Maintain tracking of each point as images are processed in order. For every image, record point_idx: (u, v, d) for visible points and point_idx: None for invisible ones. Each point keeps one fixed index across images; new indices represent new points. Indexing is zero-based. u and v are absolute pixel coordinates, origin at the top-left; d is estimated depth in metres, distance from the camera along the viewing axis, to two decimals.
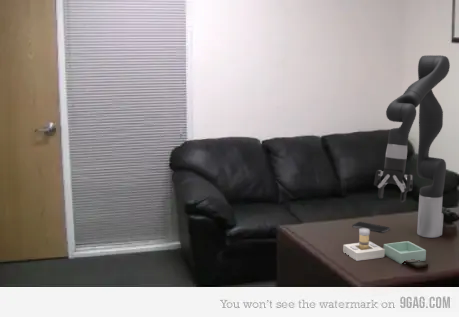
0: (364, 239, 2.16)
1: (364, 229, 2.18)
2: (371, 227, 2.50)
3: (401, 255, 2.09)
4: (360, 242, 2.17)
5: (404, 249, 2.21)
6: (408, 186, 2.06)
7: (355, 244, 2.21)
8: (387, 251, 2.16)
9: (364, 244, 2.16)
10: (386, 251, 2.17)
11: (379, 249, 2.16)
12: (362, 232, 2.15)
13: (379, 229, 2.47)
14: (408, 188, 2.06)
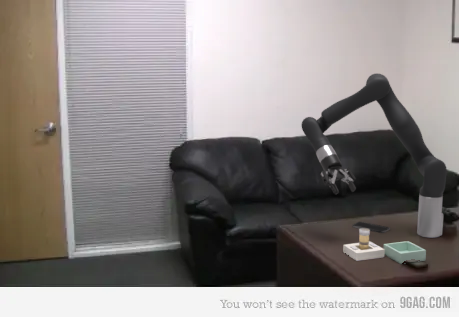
0: (364, 239, 2.16)
1: (364, 229, 2.18)
2: (371, 227, 2.50)
3: (401, 255, 2.09)
4: (360, 242, 2.17)
5: (404, 249, 2.21)
6: None
7: (355, 244, 2.21)
8: (387, 251, 2.16)
9: (364, 244, 2.16)
10: (386, 251, 2.17)
11: (379, 249, 2.16)
12: (362, 232, 2.15)
13: (379, 229, 2.47)
14: None
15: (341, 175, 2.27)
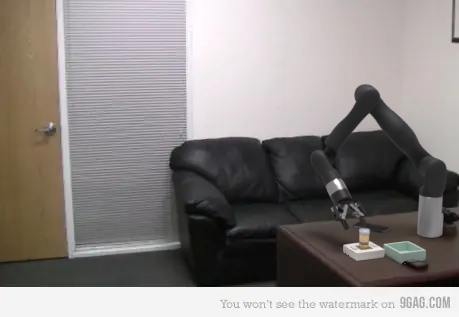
0: (364, 239, 2.16)
1: (364, 229, 2.18)
2: (371, 227, 2.50)
3: (401, 255, 2.09)
4: (360, 242, 2.17)
5: (404, 249, 2.21)
6: None
7: (355, 244, 2.21)
8: (387, 251, 2.16)
9: (364, 244, 2.16)
10: (386, 251, 2.17)
11: (379, 249, 2.16)
12: (362, 232, 2.15)
13: (379, 229, 2.47)
14: None
15: (352, 210, 2.24)
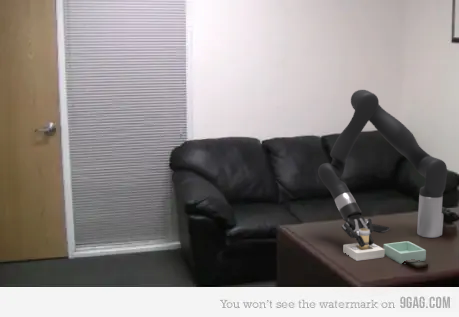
0: (364, 239, 2.16)
1: (363, 229, 2.18)
2: None
3: (401, 255, 2.09)
4: None
5: (404, 249, 2.21)
6: None
7: (355, 244, 2.21)
8: (387, 251, 2.16)
9: None
10: (386, 251, 2.17)
11: (379, 249, 2.16)
12: (362, 232, 2.15)
13: (379, 229, 2.47)
14: None
15: (359, 224, 2.19)
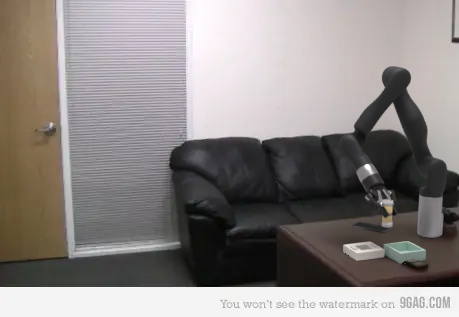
0: (388, 210, 2.12)
1: (387, 199, 2.14)
2: (371, 227, 2.50)
3: (401, 255, 2.09)
4: None
5: (404, 249, 2.21)
6: None
7: (355, 244, 2.21)
8: (387, 251, 2.16)
9: None
10: (386, 251, 2.17)
11: (379, 249, 2.16)
12: (385, 203, 2.12)
13: (379, 229, 2.47)
14: None
15: (382, 195, 2.16)
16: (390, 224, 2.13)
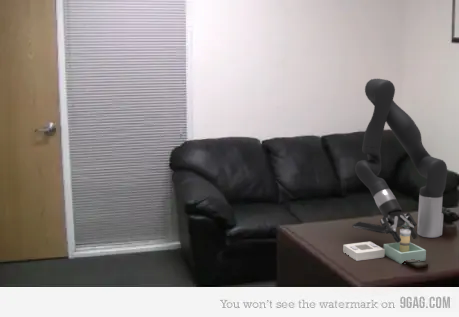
0: (405, 240, 2.13)
1: (404, 229, 2.15)
2: (371, 227, 2.50)
3: (401, 255, 2.09)
4: (401, 243, 2.14)
5: None
6: None
7: (355, 244, 2.21)
8: (387, 251, 2.16)
9: (405, 245, 2.13)
10: (386, 251, 2.17)
11: (379, 249, 2.16)
12: (403, 233, 2.12)
13: (379, 229, 2.47)
14: None
15: (402, 221, 2.16)
16: None
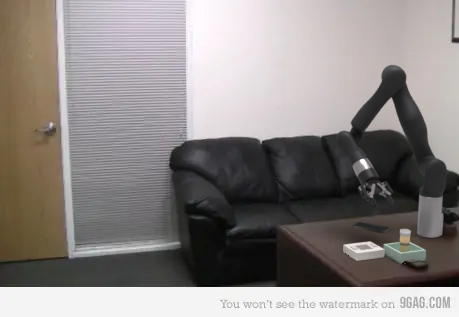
0: (405, 240, 2.13)
1: (404, 229, 2.15)
2: (371, 227, 2.50)
3: (401, 255, 2.09)
4: (401, 243, 2.14)
5: None
6: None
7: (355, 244, 2.21)
8: (387, 251, 2.16)
9: (405, 245, 2.13)
10: (386, 251, 2.17)
11: (379, 249, 2.16)
12: (403, 233, 2.12)
13: (379, 229, 2.47)
14: None
15: (379, 189, 2.26)
16: None
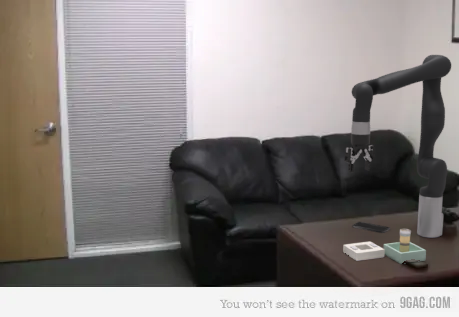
0: (405, 240, 2.13)
1: (404, 229, 2.15)
2: (371, 227, 2.50)
3: (401, 255, 2.09)
4: (401, 243, 2.14)
5: None
6: None
7: (355, 244, 2.21)
8: (387, 251, 2.16)
9: (405, 245, 2.13)
10: (386, 251, 2.17)
11: (379, 249, 2.16)
12: (403, 233, 2.12)
13: (379, 229, 2.47)
14: None
15: (363, 154, 2.33)
16: None
